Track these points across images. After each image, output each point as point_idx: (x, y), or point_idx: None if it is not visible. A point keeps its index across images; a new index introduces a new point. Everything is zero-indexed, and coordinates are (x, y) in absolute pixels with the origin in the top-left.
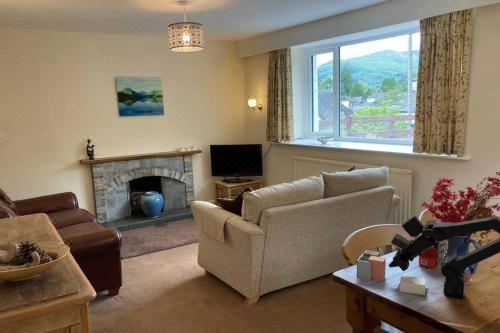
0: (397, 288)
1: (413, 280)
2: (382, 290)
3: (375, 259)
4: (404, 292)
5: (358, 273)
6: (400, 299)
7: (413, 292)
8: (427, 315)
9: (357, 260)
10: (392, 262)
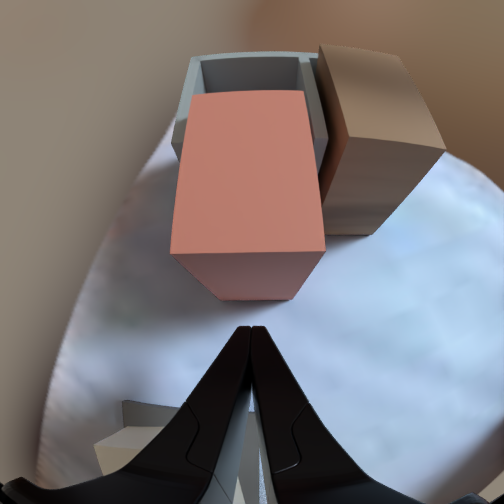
0: (156, 411)
1: None
2: (114, 324)
3: (208, 147)
4: None
5: None
6: (72, 424)
7: None
8: None
9: (191, 61)
10: (199, 392)
